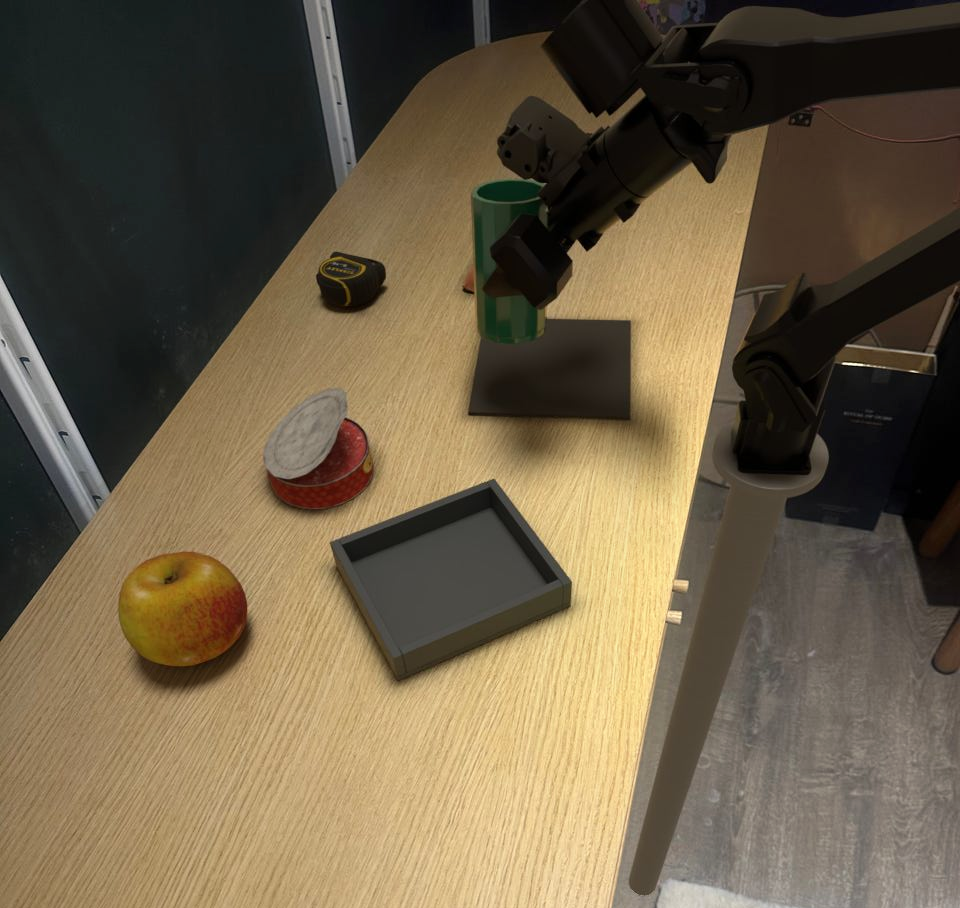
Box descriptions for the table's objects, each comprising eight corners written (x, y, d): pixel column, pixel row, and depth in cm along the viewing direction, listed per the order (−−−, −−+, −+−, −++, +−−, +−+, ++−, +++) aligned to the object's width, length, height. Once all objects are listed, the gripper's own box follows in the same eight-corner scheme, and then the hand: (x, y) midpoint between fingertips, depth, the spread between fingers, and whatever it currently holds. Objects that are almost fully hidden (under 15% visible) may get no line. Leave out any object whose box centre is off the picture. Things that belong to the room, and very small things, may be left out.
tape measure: (391, 287, 99) (386, 256, 96) (361, 319, 96) (355, 288, 93) (341, 274, 101) (335, 244, 98) (310, 305, 98) (302, 275, 95)
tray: (495, 503, 78) (494, 477, 75) (571, 605, 70) (572, 581, 68) (336, 566, 74) (329, 541, 72) (398, 681, 67) (392, 658, 64)
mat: (630, 323, 93) (630, 320, 92) (630, 420, 83) (630, 416, 83) (484, 320, 94) (484, 317, 94) (468, 415, 85) (467, 411, 85)
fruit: (246, 582, 73) (218, 517, 67) (267, 662, 68) (240, 600, 62) (134, 615, 72) (95, 552, 65) (147, 700, 67) (106, 640, 60)
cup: (560, 331, 80) (565, 192, 71) (501, 350, 77) (499, 209, 69) (520, 308, 84) (520, 174, 75) (463, 325, 81) (456, 188, 73)
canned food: (349, 540, 82) (306, 510, 72) (268, 495, 85) (216, 460, 75) (408, 439, 82) (373, 395, 73) (325, 397, 85) (281, 349, 75)
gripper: (606, 21, 67) (485, 149, 79) (510, 124, 57) (390, 252, 69) (689, 142, 71) (563, 246, 83) (613, 257, 61) (482, 355, 73)
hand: (503, 270), depth 77 cm, fingers closed on cup, 7 cm apart
